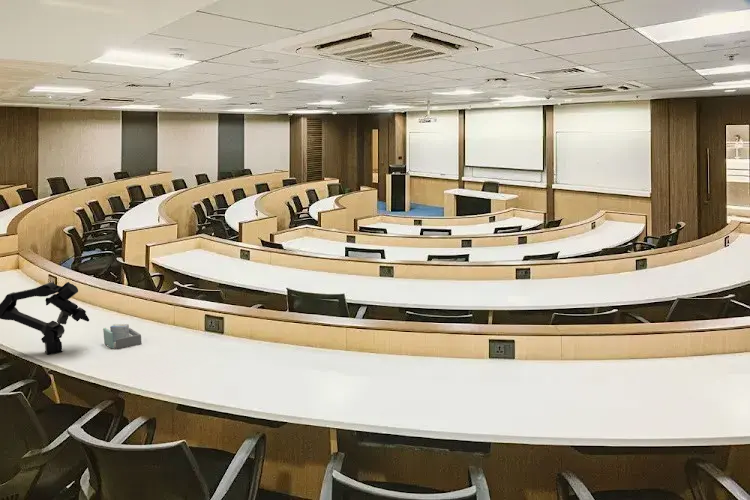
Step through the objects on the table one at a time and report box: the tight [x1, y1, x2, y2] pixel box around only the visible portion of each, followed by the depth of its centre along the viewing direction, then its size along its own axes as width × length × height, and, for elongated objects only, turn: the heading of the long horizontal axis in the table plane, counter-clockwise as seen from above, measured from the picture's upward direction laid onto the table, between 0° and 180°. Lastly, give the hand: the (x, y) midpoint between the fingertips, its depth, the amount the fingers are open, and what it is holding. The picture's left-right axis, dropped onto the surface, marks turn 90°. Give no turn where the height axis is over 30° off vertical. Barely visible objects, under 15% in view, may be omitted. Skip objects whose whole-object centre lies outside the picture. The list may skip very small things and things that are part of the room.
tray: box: [102, 327, 133, 349], centre depth 288 cm, size 13×13×8 cm
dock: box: [115, 327, 142, 350], centre depth 290 cm, size 12×16×5 cm
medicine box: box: [109, 323, 130, 342], centre depth 288 cm, size 8×4×9 cm, turn 93°
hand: (88, 320), depth 283 cm, fingers closed
